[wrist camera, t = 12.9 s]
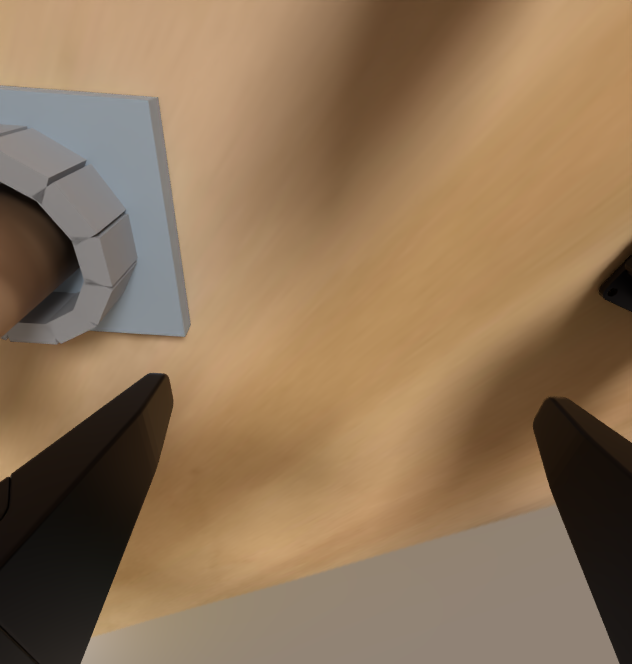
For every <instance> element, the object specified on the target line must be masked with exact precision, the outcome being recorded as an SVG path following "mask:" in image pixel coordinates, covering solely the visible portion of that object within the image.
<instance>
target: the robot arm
mask: <svg viewBox="0 0 632 664" xmlns="http://www.w3.org/2000/svg"><path fill="white" fill-rule="evenodd" d="M611 289H613V290H612V291H611V292H609V290H611ZM599 294H600V295H601V296H602V297H603V298H604V299H605V300H607V301H609V302H612V303H614V304H616V305H618V306H620V307H622V308H624V309H627V310H629V311H631V312H632V255H631V256H630V257H629V258H628V259H627V260H626V261H625V262H624V263H623V264H622V265H621V266H620V267H619V268H618V269H617V270H616V271H615V272H614V273H613V274H612V275H611V276H610V277H609V278H608V279H607V281H606V282H605V283H604V284H603V285H602V286H601V287H600V288H599ZM172 409H173V395H172V390H171V385H170V380H169V377H168V375H166V374H162V373H149V374H147V375H146V376H144V377H143V378H141V379H140V380H139V381H137V382H136V383H135V384H133V385H132V386H131V387H129V388H128V389H126V390H125V391H124V392H122V393H121V394H120V395H118V396H117V397H116V398H114V399H113V400H111V401H110V402H109V403H107V404H106V405H105V406H103V407H102V408H101V409H99V410H98V411H96V412H95V413H94V414H92V415H91V416H90V417H88V418H87V419H86V420H84V421H83V422H81V423H80V424H79V425H77V426H76V427H75V428H73V429H72V430H71V431H69V432H68V433H66V434H65V435H64V436H62V437H61V438H60V439H58V440H57V441H56V442H54V443H53V444H52V445H50V446H49V447H47V448H46V449H45V450H43V451H42V452H41V453H39V454H38V455H37V456H35V457H34V458H32V459H31V460H30V461H28V462H27V463H26V464H24V465H23V466H22V467H20V468H19V469H17V470H16V471H15V472H13V473H12V474H11V476H10V477H6V478H5V479H4V480H2V481H1V482H0V664H81V661H82V658H83V656H84V654H85V651H86V648H87V646H88V643H89V641H90V638H91V636H92V633H93V631H94V628H95V625H96V623H97V620H98V618H99V615H100V613H101V610H102V607H103V605H104V602H105V600H106V597H107V595H108V592H109V590H110V587H111V584H112V582H113V579H114V577H115V574H116V572H117V569H118V567H119V564H120V561H121V559H122V556H123V554H124V551H125V549H126V546H127V543H128V541H129V538H130V536H131V533H132V531H133V528H134V526H135V523H136V520H137V518H138V515H139V513H140V510H141V508H142V505H143V503H144V500H145V497H146V495H147V492H148V490H149V487H150V485H151V482H152V480H153V477H154V474H155V471H156V469H157V466H158V462H159V459H160V455H161V451H162V447H163V443H164V440H165V436H166V432H167V428H168V424H169V420H170V417H171V413H172ZM533 430H534V434H535V437H536V441H537V444H538V448H539V451H540V455H541V459H542V462H543V466H544V469H545V473H546V477H547V480H548V483H549V486H550V489H551V492H552V495H553V497H554V500H555V503H556V505H557V507H558V510H559V512H560V515H561V518H562V520H563V523H564V525H565V528H566V530H567V533H568V535H569V538H570V540H571V543H572V545H573V548H574V550H575V553H576V555H577V558H578V560H579V563H580V565H581V568H582V570H583V573H584V575H585V578H586V580H587V583H588V585H589V588H590V590H591V593H592V595H593V598H594V600H595V603H596V605H597V608H598V610H599V613H600V615H601V618H602V621H603V623H604V625H605V628H606V631H607V633H608V636H609V638H610V641H611V643H612V645H613V648H614V651H615V653H616V656H617V658H618V661H619V663H620V664H632V443H631V442H630V441H628V440H627V439H625V438H624V437H623V436H621V435H620V434H618V433H617V432H615V431H614V430H612V429H611V428H610V427H608V426H607V425H605V424H604V423H602V422H601V421H599V420H598V419H597V418H595V417H594V416H592V415H591V414H589V413H588V412H587V411H585V410H584V409H582V408H581V407H579V406H578V405H576V404H575V403H574V402H572V401H571V400H569V399H567V398H564V397H548V398H546V399H545V400H544V402H543V404H542V406H541V408H540V409H539V411H538V413H537V415H536V417H535V418H534V422H533Z"/></svg>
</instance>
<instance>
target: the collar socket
mask: <svg viewBox="0 0 632 664" xmlns="http://www.w3.org/2000/svg"><path fill="white" fill-rule="evenodd" d="M1 183H4V184H6V185H7V186H9V187H11V188H13V189H15V190H17V191H19V192H20V193H22V194H24V195H26V196H28V197H30V198H32V199H34V200H35V201H37V202H38V204H39V205H40V206H41V207H42V208H43V209H44V210H45V211H46V213H47V214H48V215H49V216H50V217H51V218H52V219H53V220H54V222H55V223H56V224H57V225H58V226H59V227H60V228H61V229H62V231H63V232H64V233H65V234H66V235H67V236H68V237H69V238H70V240H71V241H72V243H73V246H74V249H75V253H76V256H77V259H78V262H79V266H80V268H79V269H77V270H76V271H75V272H74V273H73V274H72V275H71V276H70V277H69V278H67V279H66V280H65V281H64V282H63V283H62V284H61V285H60V286H58V287H57V288H56V289H55V290H54V291H53V292H52V293H51V294H49V295H48V296H47V297H46V298H45V299H44V300H43V301H42V302H40V303H39V304H38V305H37V306H36V307H35V308H34V309H33V310H32V311H30V312H29V313H28V314H27V315H26V316H25V317H24V318H23V319H21V320H20V321H19V322H18V323H17V324H16V325H15V326H14V327H12V328H11V329H10V330H9V331H8V332H7V333H6V334H5V335H4V336H2V337H1V338H2V339H4V340H7V339H8V338H9V339H10V341H11V342H27V343H43V344H58V343H59V342H60V343H64V342H66V341H68V340H70V339H72V338H74V337H76V336H78V335H80V334H83V333H85V332H87V331H103V332H119V333H135V334H151V335H167V336H183V337H185V336H186V334H187V332H188V330H189V327H190V325H191V324H190V317H189V310H188V303H187V296H186V289H185V282H184V275H183V268H182V261H181V254H180V247H179V240H178V233H177V226H176V219H175V212H174V205H173V198H172V191H171V184H170V177H169V170H168V163H167V156H166V149H165V142H164V135H163V128H162V121H161V114H160V107H159V100H158V97H147V96H133V95H120V94H107V93H93V92H80V91H67V90H53V89H40V88H27V87H13V86H0V184H1Z"/></svg>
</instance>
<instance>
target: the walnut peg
mask: <svg viewBox="0 0 632 664" xmlns="http://www.w3.org/2000/svg"><path fill="white" fill-rule="evenodd" d="M79 268H80V266H79V262H78V259H77V256H76V253H75V249H74V246H73V243H72V241H71V240H70V238H69V237H68V236H67V235H66V234H65V233H64V232H63V231H62V229H61V228H60V227H59V226H58V225H57V224H56V223H55V222H54V220H53V219H52V218H51V217H50V216H49V215H48V214H47V213H46V211H45V210H44V209H43V208H42V207H41V206H40V205H39V204H38V202H37V201H35V200H34V199H32V198H30V197H28V196H26V195H24V194H22V193H20V192H19V191H17V190H15V189H13V188H11V187H9V186H7V185H6V184H4V183H1V184H0V338H1V337H2V336H4V335H5V334H6V333H7V332H8V331H9V330H10V329H11V328H12V327H14V326H15V325H16V324H17V323H18V322H19V321H20V320H21V319H23V318H24V317H25V316H26V315H27V314H28V313H29V312H30V311H32V310H33V309H34V308H35V307H36V306H37V305H38V304H39V303H40V302H42V301H43V300H44V299H45V298H46V297H47V296H48V295H49V294H51V293H52V292H53V291H54V290H55V289H56V288H57V287H58V286H60V285H61V284H62V283H63V282H64V281H65V280H66V279H67V278H69V277H70V276H71V275H72V274H73V273H74V272H75V271H76V270H77V269H79Z"/></svg>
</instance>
